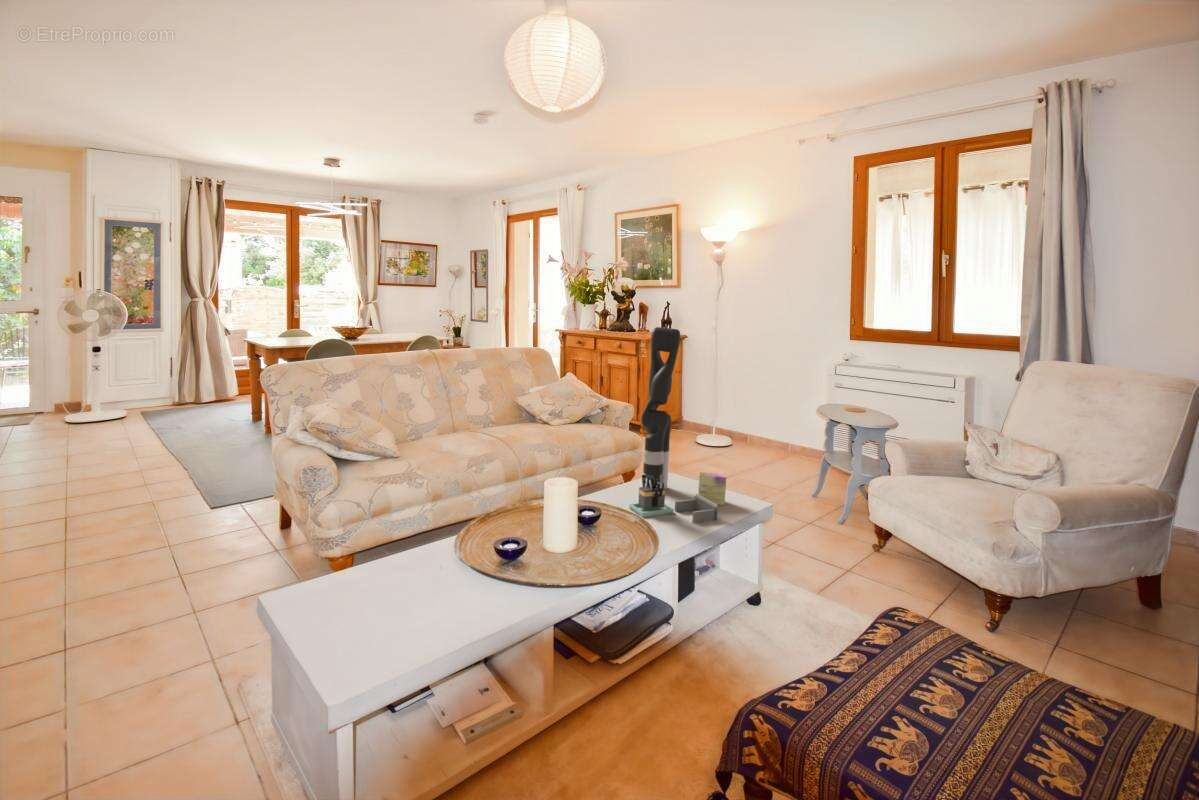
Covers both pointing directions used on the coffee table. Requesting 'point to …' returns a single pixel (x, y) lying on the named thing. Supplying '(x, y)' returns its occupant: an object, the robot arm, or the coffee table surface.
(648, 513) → the tray
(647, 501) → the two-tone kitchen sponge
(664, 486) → the robot arm
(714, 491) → the box
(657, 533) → the coffee table surface
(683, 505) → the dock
